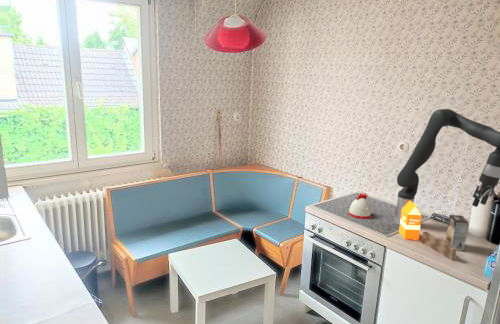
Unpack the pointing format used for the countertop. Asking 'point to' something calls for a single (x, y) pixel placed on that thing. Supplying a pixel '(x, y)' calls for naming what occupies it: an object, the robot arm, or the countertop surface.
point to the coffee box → (457, 231)
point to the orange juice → (410, 221)
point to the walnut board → (439, 245)
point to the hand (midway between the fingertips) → (478, 205)
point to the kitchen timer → (360, 207)
